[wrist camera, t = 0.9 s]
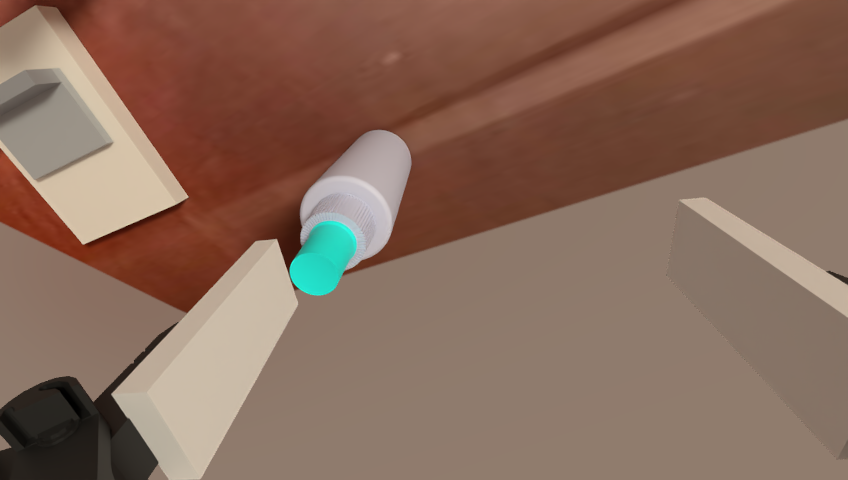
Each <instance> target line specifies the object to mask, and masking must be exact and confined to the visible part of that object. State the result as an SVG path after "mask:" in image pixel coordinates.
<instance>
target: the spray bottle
mask: <svg viewBox="0 0 848 480" xmlns="http://www.w3.org/2000/svg"><path fill="white" fill-rule="evenodd" d="M410 169H411V155H410V152H409V149H408V147H407V146H406V144H405V143H404V141H403V140H402V139H401V138H399V137H398V136H397V135H395V134H393V133H391V132H389V131H385V130H373V131H370V132H367V133H365V134H363V135H362V136H360V137H359V138H358V139H357V140H356V141H355V142H354V143H353V144H352V145H351V146H350V147H349V148H348V149H347V150H346V152H345V153H344V154H343V155H342V156H341V157H340V158H339V159H338V160H337V161H336V162H335V163H334V164H333V165H332V166H331V167H330V168H329V169H328V170H327V171H326V172H325V173H324V174H323V175H322V176H321V177H320V178H319V179H318V180H317V181H316V182H315V183H314V184H313V185H312V186H311V187H310V188H309V190H308V191H307V192H306V194H305V196H304V198H303V200H302V203H301V207H300V220H301V225H302V231H301V235H300V236H301V237H300V239H301V242H302V243H301V245H303V246H302V248H301V249H300V251H299V252H298V254H297V255H296V257H295V258H294V260H293V261H292V263H291V266H290V276H291V279H292V281H293V282H294V284H295V285H296V286H297V287H298V288H299V289H300V290H302V291H303V292H305V293H308V294H311V295H325V294H328V293H330V292H331V291H333V290H334V289H335V287H336V286H337V284H338V282H339V280H340V278H341V276H342V274H343V272H344V270H347V269H350V268H352V267H354V266H355V265H357V264H358V263H359V262H360V261H361V260H364V259H367V258H369V257H371V256H373V255H375V254H376V253H378V252H379V251H380V250H381V249H382V248H383V247H384V246H385V244H386V243H387V241H388V239H389V237H390V235H391V232H392V228H393V225H394V222H395V219H396V215H397V212H398V209H399V205H400V202H401V199H402V196H403V192H404V189H405V186H406V183H407V179H408V176H409V173H410Z"/></svg>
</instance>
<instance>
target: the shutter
mask: <svg viewBox="0 0 848 480" xmlns="http://www.w3.org/2000/svg"><path fill="white" fill-rule="evenodd" d="M0 140H1V141H2V143H3V144H4V145H5V146H6V147H7V148H8V150H9V151H10V152H11V153H12V154H13V156H14V157H15V158H16V159H17V160H18V161H19V163H20V164H21V165H22V166H23V167H24V168H25V170H26V171H27V172H28V173H29V174H30V175H31V177H32V178H33V179H34V180H35V179H38V178H41V177H44V176H46V175H48V174H50V173H52V172H54V171H56V170H58V169H60V168H62V167H64V166H66V165H68V164H70V163H72V162H74V161H76V160H78V159H80V158H82V157H84V156H86V155H88V154H90V153H92V152H94V151H96V150H98V149H100V148H102V147H104V146H106V145H108V144H110V143H112V142H113V140H112V139H111V138H110V136H109V135H108V134H107V132H106V131H105V129H104V128H103V127H102V125H101V124H100V123H99V121H98V120H97V119H96V117H95V116H94V114H93V113H92V112H91V110H90V109H89V108H88V106H87V105H86V104H85V102H84V101H83V99H82V98H81V97H80V95H79V94H78V93H77V91H76V90H75V89H74V87H73V86H72V84H71V83H70V82H69V80H68V79H67V78H66V76H65V75H64V74H63V72H62V71H61V69H60V68H50V69H32V70H24V71H22V72H20V73H19V74H17V75H15V76H13V77H12V78H10V79H8V80H7V81H5V82H3V83H1V84H0Z"/></svg>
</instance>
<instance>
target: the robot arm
mask: <svg viewBox="0 0 848 480" xmlns="http://www.w3.org/2000/svg"><path fill="white" fill-rule="evenodd" d="M666 276H667V277H668V278H669V279H670V280H671V281H672V282H673V283H674V284H675V285H676V286H677V287H678V288H679V290H680V291H681V292H682V293H683V294H684V295H685V296H686V297H687V298H688V299H689V300H690V301H691V303H692V304H693V305H694V306H695V307H696V308H697V309H698V310H699V311H700V312H701V313H702V314H703V315H704V317H705V318H706V319H707V320H708V321H709V322H710V323H711V324H712V325H713V326H714V327H715V328H716V329H717V331H718V332H719V333H720V334H721V335H722V336H723V337H724V338H725V339H726V340H727V341H728V342H729V343H730V345H731V346H732V347H733V348H734V349H735V350H736V351H737V352H738V353H739V354H740V355H741V356H742V358H743V359H744V360H745V361H746V362H747V363H748V364H749V365H750V366H751V367H752V368H753V369H754V370H755V372H757V374H758V375H759V376H760V377H761V378H762V379H763V380H764V381H765V382H766V383H767V384H768V385H769V387H770V388H771V389H772V390H773V391H774V392H775V393H776V394H777V395H778V396H779V397H780V399H781V400H782V401H783V402H784V403H785V404H786V405H787V406H788V407H789V408H790V409H791V410H792V411H793V413H794V414H795V415H796V416H797V417H798V418H799V419H800V420H801V421H802V422H803V423H804V424H805V426H806V427H807V428H808V429H809V430H810V431H811V432H812V433H813V434H814V435H815V436H816V437H817V438H818V439H819V441H820V442H821V443H822V444H823V445H824V446H825V447H826V448H827V449H828V450H829V451H830V452H831V454H832V455H833V456H834V457H835V458H836V459H848V278H846V277H844V276H841V275H839V274H836V273H833V272H831V271H824V270H822V269H820V268H819V267H817V266H816V265H814V264H812V263H811V262H809V261H808V260H806V259H804V258H803V257H801V256H800V255H798V254H796V253H795V252H793V251H791V250H790V249H788V248H787V247H785V246H783V245H782V244H780V243H778V242H777V241H775V240H773V239H772V238H770V237H769V236H767V235H765V234H764V233H762V232H761V231H759V230H757V229H755V228H754V227H752V226H751V225H749V224H748V223H746V222H744V221H742V220H741V219H739V218H738V217H736V216H734V215H733V214H731V213H730V212H728V211H726V210H725V209H723V208H721V207H720V206H718V205H716V204H715V203H713V202H712V201H710V200H708V199H707V198H695V199H684V200H679V202H678V209H677V214H676V221H675V226H674V232H673V238H672V244H671V250H670V256H669V262H668V268H667V274H666ZM297 306H298V301H297V298H296V296H295V292H294V289H293V286H292V283H291V280H290V277H289V274H288V271H287V268H286V265H285V262H284V259H283V256H282V253H281V250H280V247H279V244H278V241H277V239H273V240H263V241H255V243H254V244H253V245H252V246H251V247H250V248H249V249H248V250H247V251H246V252H245V253H244V254H243V255H242V256H241V257H240V258H239V259H238V261H237V262H236V263H235V264H234V265H233V266H232V267H231V268H230V269H229V270H228V271H227V272H226V273H225V274H224V275H223V276H222V277H221V279H220V280H219V281H218V282H217V283H216V284H215V285H214V286H213V287H212V288H211V289H210V290H209V291H208V292H207V293H206V294H205V295H204V297H203V298H202V299H201V300H200V301H199V302H198V303H197V304H196V305H195V306H194V307H193V308H192V309H191V310H190V311H189V312H188V313H187V315H186V316H185V317H184V318H183V319H182V320H181V321H180V322H177V323H176V324H174V325H173V326H171V327H170V328H168V329H167V330H165V331H164V332H162V333H161V334H159V335H158V337H156V338H155V340H153V341H152V343H151V344H150V345H149V346H148V347H147V348H146V349H145V352H142V353H141V354H140V355H139V356H138V357H137V358H136V359H135V360H134V363H133V364H130V365H129V366H128V367H127V368H126V369H125V370H124V371H123V373H121V374H120V376H118V378H117V379H116V380H115V381H114V382H113V383H112V384H111V385H110V386H109V387H108V388H107V389H106V390H105V391H104V392H103V393H102V394H101V395H100V396H99V397H98V398H97V399H96V400H95V401H94V402H93V401H92V400H91V399H90V397H89V396H88V394H87V393H86V391H85V390H84V389H83V387H82V386H81V384H80V383H79V382H78V380H77V379H76V378H74V377H70V376H66V377H59V378H54V379H51V380H48V381H45V382H43V383H40V384H38V385H36V386H34V387H32V388H30V389H28V390H26V391H24V392H23V393H21V394H20V395H18V396H17V397H15V398H14V399H12V400H11V401H9V402H8V403H7V404H6V405H5V406H4V407H2V408H1V409H0V435H1V436H2V437H3V438H4V439H5V440H6V441H7V442H8V443H9V445H10V446H11V447H12V448H9V449H5V450H2V451H0V480H148V478H149V476H150V475H151V473H152V472H153V470H154V469H155V467H156V466H157V464H159V466H160V467H161V469H162V470H163V471H164V473H165V475H166V476H167V477H168V479H169V480H190V479H201V477H202V475H203V474H204V472H205V470H206V468H207V466H208V465H209V463H210V461H211V459H212V458H213V456H214V454H215V452H216V450H217V449H218V447H219V445H220V443H221V441H222V440H223V438H224V436H225V434H226V432H227V431H228V429H229V427H230V425H231V424H232V422H233V420H234V418H235V416H236V415H237V413H238V411H239V409H240V408H241V406H242V404H243V402H244V400H245V398H246V397H247V395H248V393H249V391H250V389H251V388H252V386H253V384H254V382H255V381H256V379H257V377H258V375H259V373H260V372H261V370H262V368H263V366H264V365H265V363H266V361H267V359H268V357H269V356H270V354H271V352H272V350H273V349H274V347H275V345H276V343H277V341H278V340H279V338H280V336H281V334H282V332H283V331H284V329H285V327H286V325H287V324H288V322H289V320H290V318H291V316H292V315H293V313H294V311H295V309H296V308H297Z"/></svg>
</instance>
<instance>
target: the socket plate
mask: <svg viewBox="0 0 848 480" xmlns="http://www.w3.org/2000/svg"><path fill="white" fill-rule="evenodd" d="M50 68H60V69H61V71H62V72H63V74H64V75H65V76H66V78H67V79H68V80H69V82H70V83H71V84H72V86H73V87H74V89H75V90H76V91H77V93H78V94H79V95H80V97H81V98H82V99H83V101H84V102H85V104H86V105H87V106H88V108H89V109H90V110H91V112H92V113H93V114H94V116H95V117H96V119H97V120H98V121H99V123H100V124H101V125H102V127H103V128H104V129H105V131H106V132H107V134H108V135H109V136H110V138H111V139H112V140H113V142H112V143H110V144H108V145H106V146H104V147H102V148H100V149H98V150H96V151H94V152H92V153H90V154H88V155H86V156H84V157H82V158H80V159H78V160H76V161H74V162H72V163H70V164H68V165H66V166H64V167H62V168H60V169H58V170H56V171H54V172H52V173H50V174H48V175H46V176H44V177H41V178H38V179H35V180H34V179H33V178H32V177H31V175H30V174H29V173H28V172H27V171H26V170H25V168H24V167H23V166H22V165H21V164H20V163H19V161H18V160H17V159H16V158H15V157H14V156H13V154H12V153H11V152H10V151H9V150H8V148H7V147H6V146H5V145H4V144H3V143H2V141H1V140H0V148H1V149H2V150H3V151H4V153H5V154H6V155H7V156H8V157H9V158H10V160H11V161H12V162H13V163H14V164H15V165H16V167H17V168H18V169H19V170H20V171H21V172H22V174H23V175H24V176H25V177H26V178H27V179H28V181H29V182H30V183H31V184H32V185H33V186H34V188H35V189H36V190H37V191H38V192H39V193H40V195H41V196H42V197H43V198H44V199H45V200H46V202H47V203H48V204H49V205H50V206H51V207H52V209H53V210H54V211H55V212H56V213H57V214H58V216H59V217H60V218H61V219H62V220H63V221H64V223H65V224H66V225H67V226H68V227H69V228H70V230H71V231H72V232H73V233H74V234H75V235H76V237H77V238H78V239H79V240H80V241H81V242H82V244H86V243H88V242H90V241H93V240H95V239H97V238H99V237H102V236H104V235H106V234H109V233H111V232H113V231H116V230H118V229H120V228H123V227H125V226H127V225H130V224H132V223H134V222H137V221H139V220H141V219H143V218H146V217H148V216H150V215H153V214H155V213H157V212H160V211H162V210H164V209H167V208H169V207H171V206H174V205H176V204H178V203H180V202H181V201H183V200H185V199H187V198H188V195H187V194H186V193H185V191H184V190H183V188H182V187H181V185H180V184H179V183H178V181H177V180H176V178H175V177H174V175H173V174H172V172H171V171H170V170H169V168H168V167H167V165H166V164H165V162H164V161H163V160H162V158H161V157H160V155H159V154H158V152H157V151H156V149H155V148H154V147H153V145H152V144H151V142H150V141H149V139H148V138H147V137H146V135H145V134H144V132H143V131H142V129H141V128H140V126H139V125H138V124H137V122H136V121H135V119H134V118H133V116H132V115H131V114H130V112H129V111H128V109H127V108H126V106H125V105H124V103H123V102H122V101H121V99H120V98H119V96H118V95H117V93H116V92H115V91H114V89H113V88H112V86H111V85H110V83H109V82H108V80H107V79H106V78H105V76H104V75H103V73H102V72H101V70H100V69H99V68H98V66H97V65H96V63H95V62H94V60H93V59H92V57H91V56H90V55H89V53H88V52H87V50H86V49H85V47H84V46H83V45H82V43H81V42H80V40H79V39H78V37H77V36H76V34H75V33H74V32H73V30H72V29H71V27H70V26H69V24H68V23H67V22H66V20H65V19H64V17H63V16H62V14H61V13H60V11H59V10H58V9H57V7H48V6H38V5H35V6H33V7H32V8H30V9H29V10H27V11H25V12H24V13H22V14H21V15H19V16H17V17H16V18H14V19H13V20H11V21H10V22H8V23H6V24H5V25H3V26H2V27H0V84H1V83H3V82H5V81H7V80H8V79H10V78H12V77H13V76H15V75H17V74H19V73H20V72H22V71H24V70H32V69H50Z"/></svg>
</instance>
